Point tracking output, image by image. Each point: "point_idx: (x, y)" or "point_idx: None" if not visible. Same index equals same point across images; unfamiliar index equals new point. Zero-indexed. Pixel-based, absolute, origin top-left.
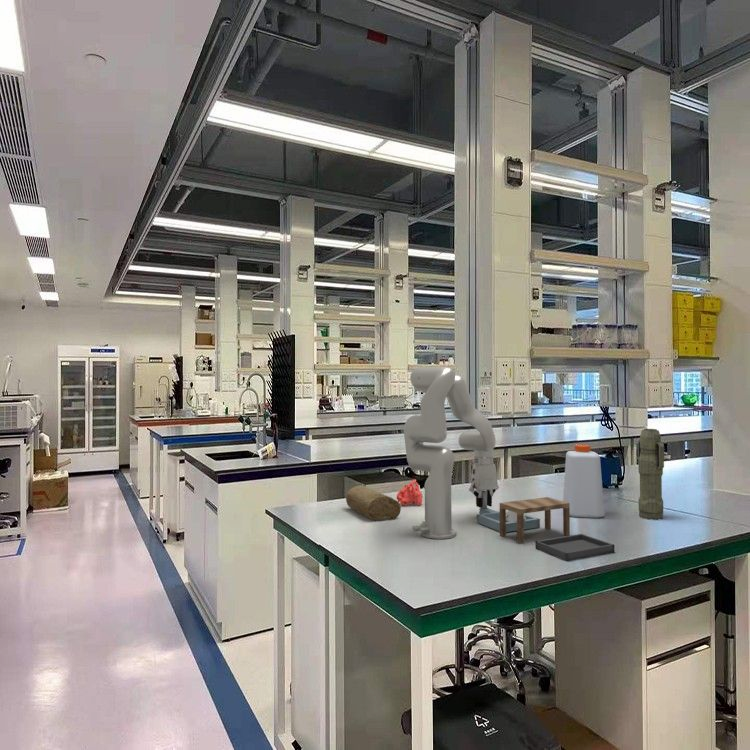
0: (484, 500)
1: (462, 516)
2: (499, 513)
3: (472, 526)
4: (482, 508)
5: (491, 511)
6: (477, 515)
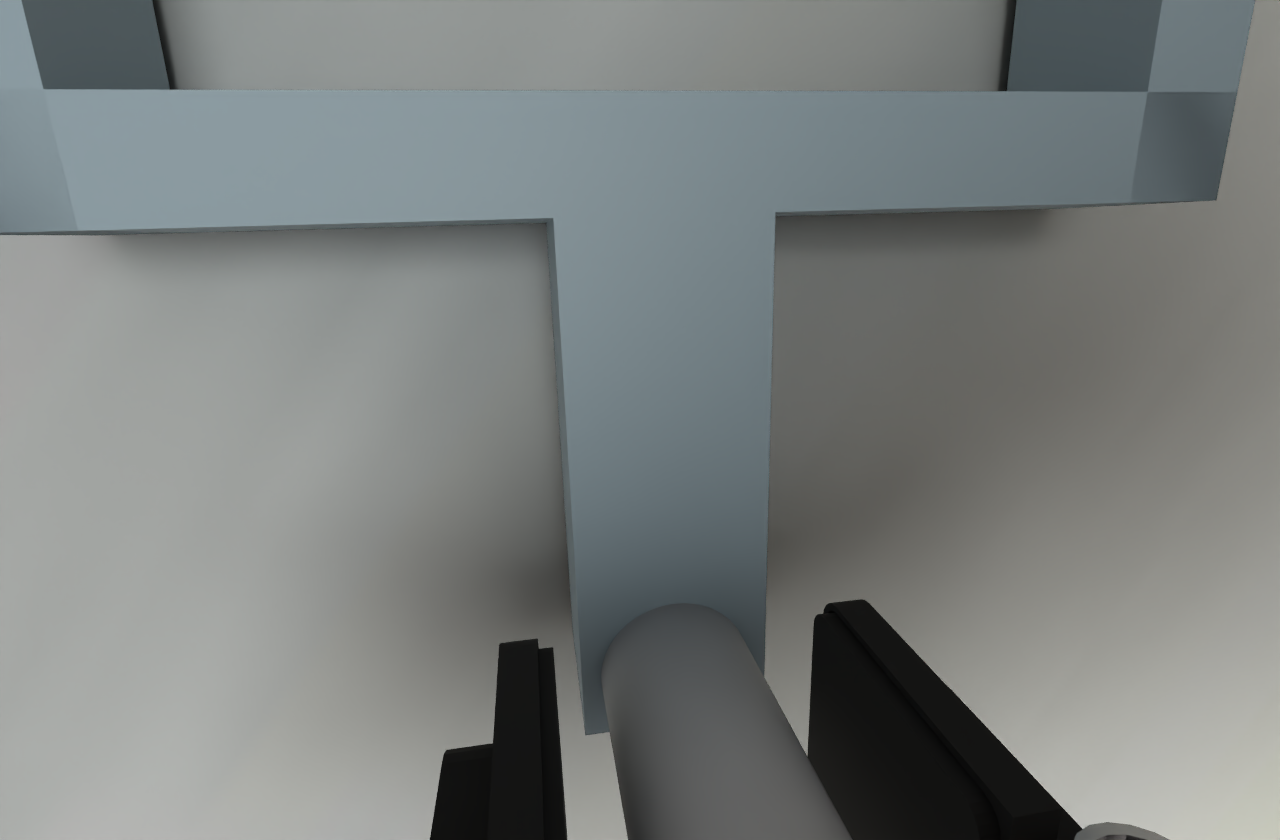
0: (791, 775)
1: (953, 691)
2: (571, 98)
3: (1263, 33)
4: (745, 642)
5: (700, 325)
6: (1206, 166)
